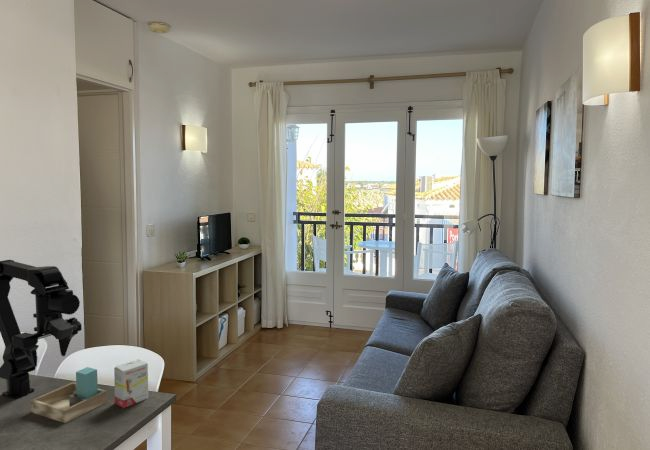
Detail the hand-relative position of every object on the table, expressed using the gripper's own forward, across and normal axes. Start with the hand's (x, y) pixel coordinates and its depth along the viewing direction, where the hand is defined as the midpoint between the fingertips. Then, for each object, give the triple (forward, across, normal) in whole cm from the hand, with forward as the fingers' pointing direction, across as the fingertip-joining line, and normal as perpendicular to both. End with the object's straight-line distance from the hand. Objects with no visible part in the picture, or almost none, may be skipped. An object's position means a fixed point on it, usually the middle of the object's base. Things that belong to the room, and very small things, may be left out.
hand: (49, 361), depth 147 cm
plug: (+12, +3, -12) cm, 17 cm away
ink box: (+13, +11, -21) cm, 27 cm away
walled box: (+13, 0, -8) cm, 15 cm away
